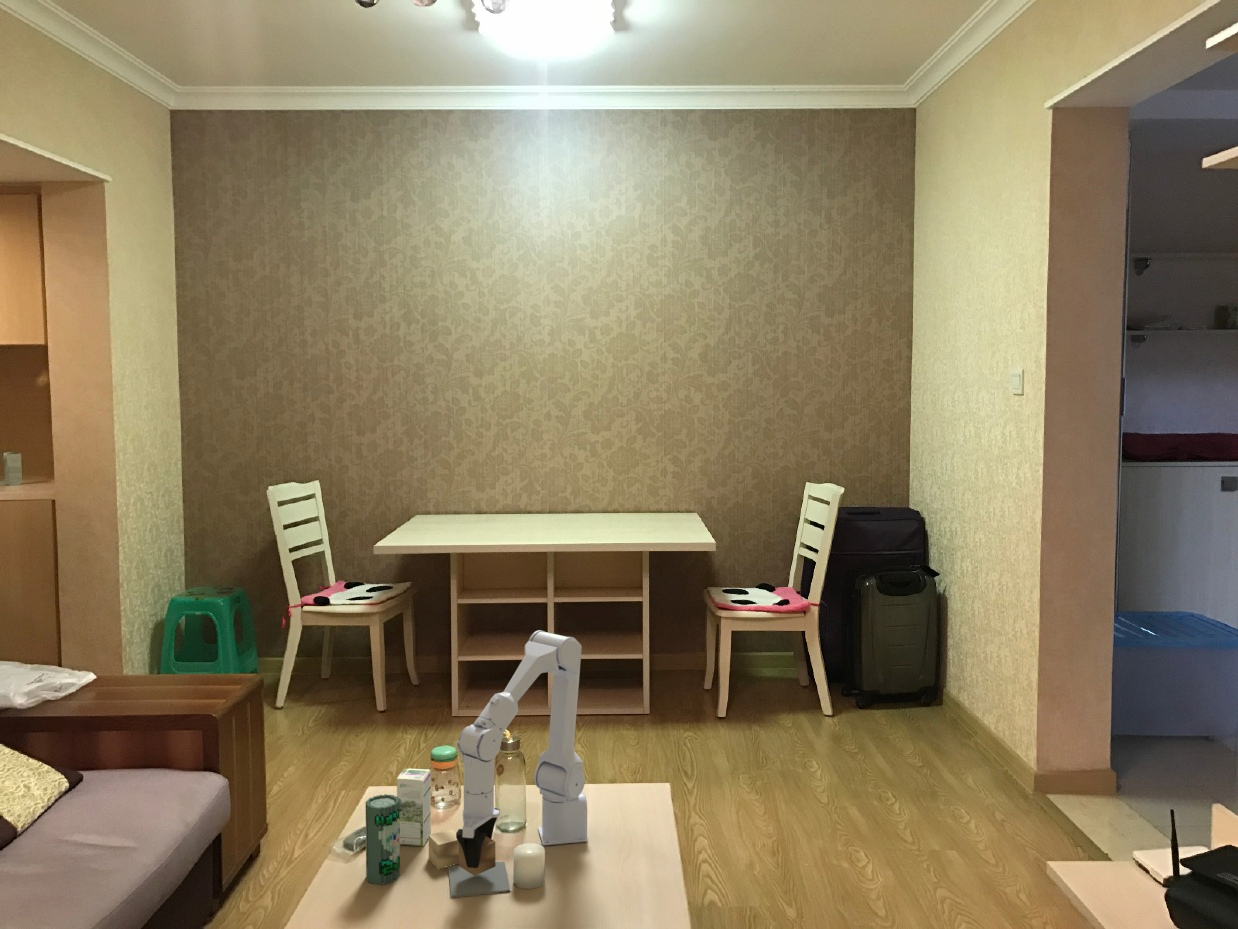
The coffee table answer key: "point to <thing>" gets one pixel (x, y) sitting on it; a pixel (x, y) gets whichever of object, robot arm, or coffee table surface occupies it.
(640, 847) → the coffee table surface
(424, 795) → the syrup box
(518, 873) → the white pillar candle
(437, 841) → the oak block
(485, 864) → the walnut block
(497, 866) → the rubber mat
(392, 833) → the can
